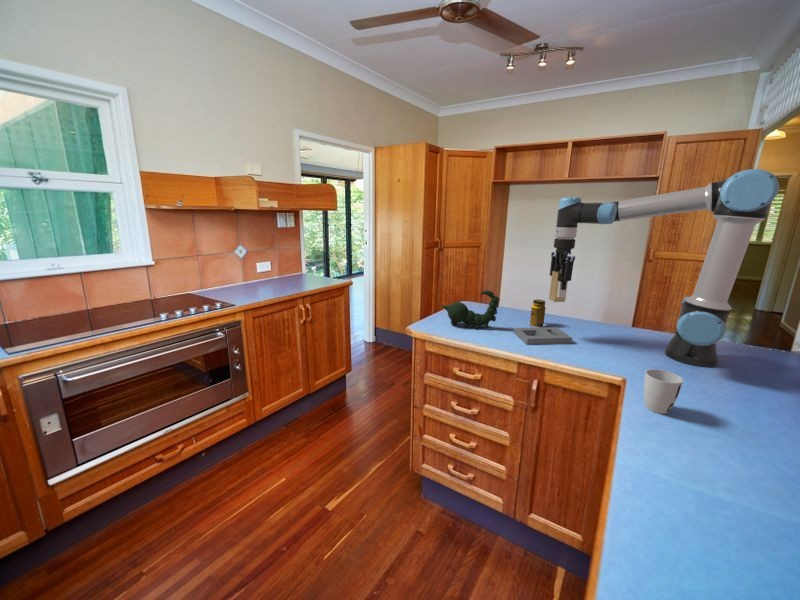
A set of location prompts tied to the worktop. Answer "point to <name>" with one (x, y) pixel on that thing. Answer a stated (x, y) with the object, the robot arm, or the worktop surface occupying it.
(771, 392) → the worktop surface
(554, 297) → the brass peg
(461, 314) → the toy figurine
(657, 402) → the cup
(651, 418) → the worktop surface
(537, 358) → the worktop surface
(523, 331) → the socket plate
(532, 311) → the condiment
